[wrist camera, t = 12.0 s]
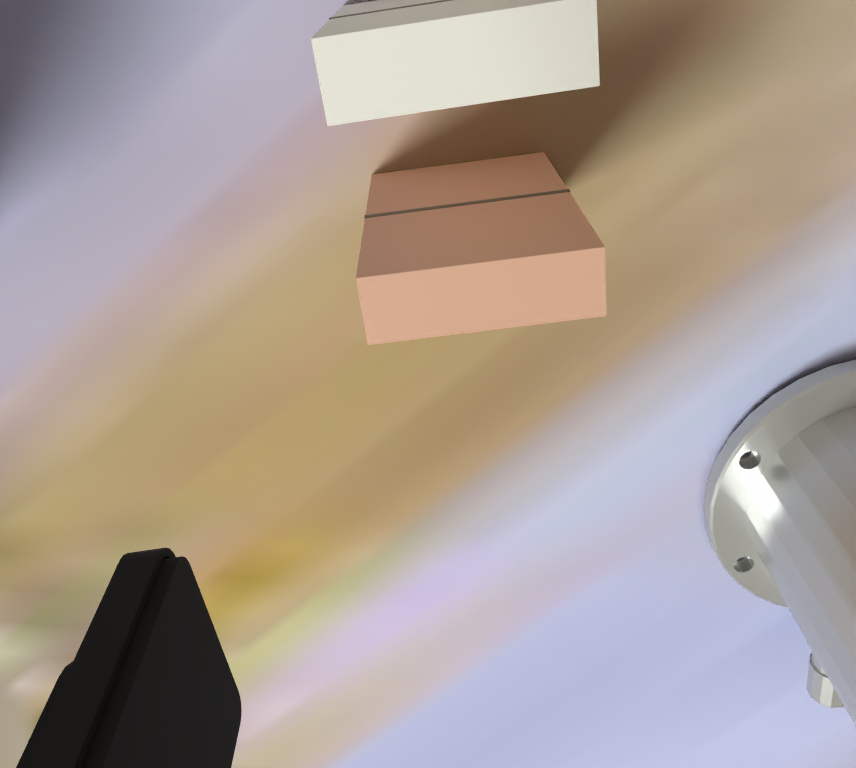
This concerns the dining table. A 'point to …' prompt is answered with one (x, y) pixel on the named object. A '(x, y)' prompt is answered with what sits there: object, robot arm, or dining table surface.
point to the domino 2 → (476, 251)
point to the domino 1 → (451, 54)
